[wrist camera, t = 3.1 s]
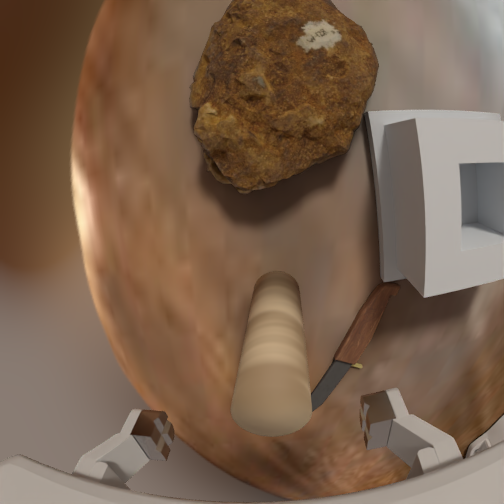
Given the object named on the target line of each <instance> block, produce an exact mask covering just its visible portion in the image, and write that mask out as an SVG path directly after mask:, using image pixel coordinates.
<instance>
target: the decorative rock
mask: <svg viewBox="0 0 504 504" xmlns="http://www.w3.org/2000/svg"><path fill="white" fill-rule="evenodd" d="M372 45H373V44H372V43H370V42H369V40H368V38H367V35H366V33H365V31H364V30H363V28H362V26H360V25H357V24H356V23H355V22H354V21H352V20H351V19H349V18H347V17H346V16H345V15H344V14H342V13H341V12H340V11H339V10H338V9H337V8H336V7H335V5H334V4H333V3H332V1H331V0H232V2H231V3H230V5H229V6H228V8H227V10H226V12H225V13H224V15H223V17H222V19H221V20H220V21H219V22H215V23H214V25H213V26H212V27H211V32H210V35H209V39H208V41H207V44H206V46H205V49H204V51H203V54H202V56H201V59H200V61H199V64H198V66H197V68H196V71H195V73H194V75H193V79H194V82H193V83H192V84H191V85H190V87H189V88H190V89H191V94H190V98H189V101H190V107H192V108H195V109H197V110H199V112H198V118H197V121H196V123H195V125H194V135H195V136H196V137H197V139H198V141H199V142H201V143H202V147H203V148H204V154H203V156H204V158H205V161H206V163H207V172H209V171H211V173H212V174H213V176H214V177H215V179H216V180H218V181H219V182H221V183H223V184H232V185H233V186H234V187H235V188H236V189H237V190H238V191H239V192H240V193H241V194H248V193H250V192H252V191H253V190H260V189H264V188H269V187H273V186H275V185H276V184H277V183H278V182H279V181H280V180H281V179H288V178H289V177H291V176H292V175H295V174H300V173H301V172H303V171H304V170H306V169H307V168H309V167H310V166H312V165H314V164H315V163H319V164H321V163H323V162H324V161H326V160H328V159H330V158H332V157H335V156H338V155H341V154H345V153H346V152H347V151H348V149H349V146H350V143H351V140H352V138H353V135H354V130H356V129H357V128H358V127H359V125H360V122H361V119H362V115H363V112H364V110H365V108H366V103H367V100H368V99H369V98H370V96H371V95H372V92H373V90H374V86H375V82H376V77H377V71H378V67H379V64H378V60H377V57H376V54H375V51H374V48H373V47H372Z"/></svg>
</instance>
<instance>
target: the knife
mask: <svg viewBox="0 0 504 504" xmlns="http://www.w3.org/2000/svg"><path fill="white" fill-rule="evenodd" d="M399 289H400V286H399V285H398V284H396V283H392V282H384V283H381V284H379V285H378V286H377V287H376V288H375V290H374V291H373V292H372V293H371V294H370V296H369V297H368V299H367V300H366V302H365V303H364V304H363V306H362V307H361V309H360V310H359V312H358V314H357V316H356V317H355V319H354V321H353V323H352V325H351V327H350V328H349V330H348V332H347V334H346V336H345V337H344V339H343V341H342V343H341V344H340V346H339V348H338V350H337V351H336V353H335V355H334V357H335V360H334V361H333V363H332V364H331V366H330V367H329V369H328V370H327V372H326V373H325V375H324V376H323V378H322V379H321V381H320V382H319V383H318V385H317V386H316V388H315V389H314V391H313V392H312V394H311V403H312V412H313V411H314V410H315V409H317V408H318V407H319V406H320V405H322V404H323V402H324V401H325V400H326V399H327V397H328V396H329V395H330V394H331V392H332V391H333V390H334V388H335V387H336V386H337V385H338V383H339V382H340V381H341V379H342V378H343V377H344V375H345V374H346V373H347V371H348V370H349V368H350V367H351V366H354V367H358V368H362V364H358V363H357V361H358V359H359V358H360V356H361V355H362V353H363V351H364V350H365V348H366V347H367V345H368V343H369V342H370V340H371V338H372V337H373V335H374V332H375V330H376V328H377V326H378V324H379V321H380V319H381V317H382V314H383V312H384V310H385V308H386V305H387V303H388V300H389V298H390V296H391V295H397V293H398V291H399Z"/></svg>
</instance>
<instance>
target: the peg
mask: <svg viewBox="0 0 504 504" xmlns="http://www.w3.org/2000/svg"><path fill="white" fill-rule="evenodd" d="M231 415H232V418H233V419H234V421H235V422H236V423H237V424H238V425H239V426H240V427H241V428H243V429H244V430H246V431H248V432H251V433H253V434H257V435H261V436H271V437H272V436H283V435H287V434H291V433H293V432H296V431H298V430H299V429H301V428H302V427H304V426H305V425H306V424H307V423H308V421H309V420H310V418H311V415H312V403H311V392H310V381H309V371H308V361H307V352H306V342H305V333H304V324H303V316H302V308H301V299H300V291H299V286H298V284H297V282H296V280H295V279H294V278H293V277H292V276H291V275H289V274H287V273H285V272H280V271H273V272H269V273H266V274H264V275H263V276H261V277H260V278H259V279H258V281H257V282H256V284H255V287H254V292H253V297H252V302H251V308H250V313H249V318H248V323H247V328H246V333H245V338H244V343H243V348H242V354H241V359H240V364H239V369H238V374H237V379H236V384H235V389H234V394H233V399H232V404H231Z"/></svg>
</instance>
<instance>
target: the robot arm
mask: <svg viewBox="0 0 504 504" xmlns="http://www.w3.org/2000/svg"><path fill="white" fill-rule="evenodd" d="M360 403H361V408H360V424H361V429H362V430H363V431H364V441H365V445H366V449H367V450H370V449H375V448H380V447H384V446H387V447H388V448H389V449H390V450H391V451H392V452H393V453H395V454H396V455H397V456H398V457H399V458H401V459H402V460H403V461H404V462H405V463H406V464H408V465H409V466H410V467H411V470H410V472H409V474H408V477H407V479H406V480H404V481H400V482H396V483H393V484H389V485H385V486H381V487H377V488H372V489H368V490H363V491H358V492H353V493H348V494H342V495H336V496H329V497H322V498H314V499H305V500H294V501H279V502H216V501H201V500H190V499H181V498H173V497H166V496H159V495H153V494H147V493H142V492H137V491H132V490H130V489H129V488H128V487H127V486H126V484H125V483H126V482H127V481H128V480H129V479H130V478H131V477H132V476H133V475H134V474H136V473H137V472H138V471H139V470H140V469H141V468H142V467H143V466H144V465H145V464H146V463H147V462H148V461H149V459H151V460H162V461H167V458H168V455H169V452H170V448H169V445H170V444H171V443H172V442H173V440H174V428H173V425H172V423H171V422H169V421H168V420H167V418H168V416H167V414H166V412H164V411H154V410H141V409H133V410H132V411H131V412H130V414H129V416H128V418H127V420H126V422H125V424H124V426H123V428H122V430H121V432H120V434H118V433H117V434H115V435H114V436H112V437H111V438H109V439H108V440H106V441H105V442H103V443H102V444H100V445H99V446H97V447H96V448H94V449H92V450H91V451H89V452H88V453H86V454H84V455H83V456H81V458H80V460H79V462H78V464H77V466H76V468H75V469H74V471H73V473H72V474H69V473H67V472H64V471H61V470H58V469H55V468H53V467H50V466H48V465H45V464H42V463H40V462H38V461H35V460H33V459H31V458H28V457H26V456H24V455H20V454H19V455H15V456H12V457H9V458H7V459H5V460H3V461H1V462H0V504H504V415H503V416H502V417H501V418H500V419H499V420H498V421H497V422H496V423H495V424H494V425H493V426H492V427H491V428H490V429H489V430H488V431H487V432H486V433H484V434H483V435H482V436H480V437H479V438H478V439H476V440H475V441H474V442H473V443H471V444H470V446H469V448H468V451H467V454H466V458H465V459H463V458H462V455H461V453H460V451H459V449H458V446H457V444H456V442H455V440H454V438H453V437H451V436H450V435H448V434H446V433H444V432H443V431H441V430H439V429H437V428H435V427H434V426H432V425H430V424H429V423H427V422H425V421H423V420H422V419H420V418H418V417H417V416H415V415H413V414H411V415H409V413H408V411H407V408H406V406H405V404H404V401H403V399H402V397H401V394H400V392H399V390H398V388H393V389H389V390H385V391H380V392H376V393H371V394H367V395H362V396H361V399H360Z"/></svg>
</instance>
